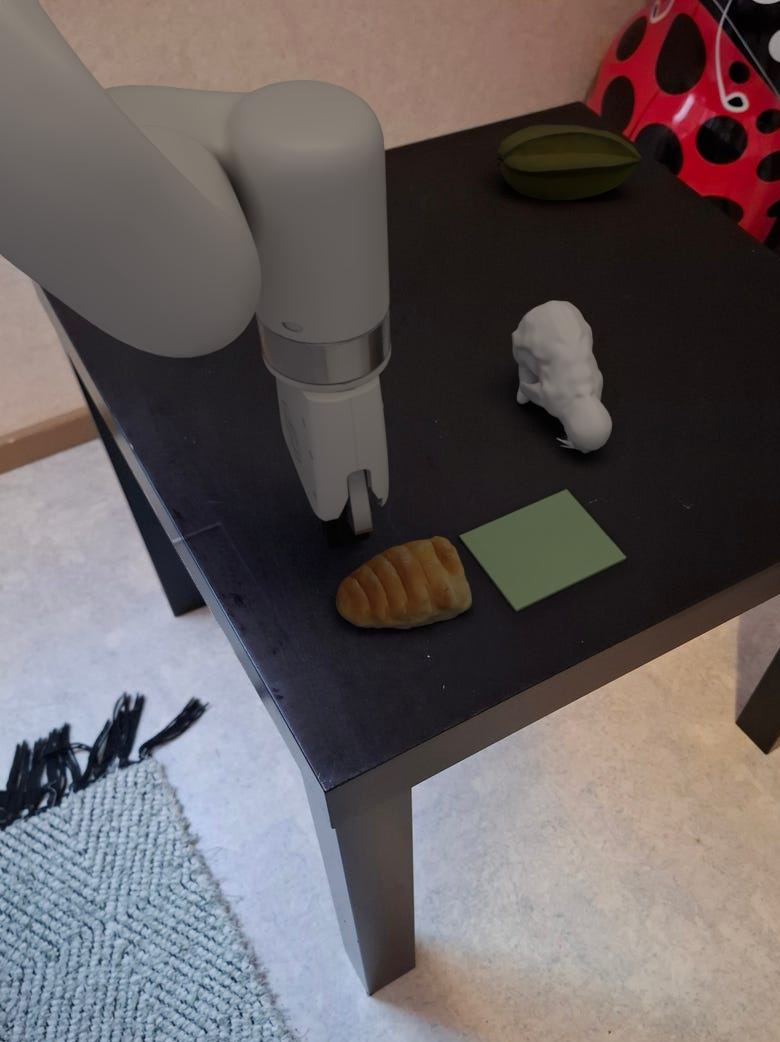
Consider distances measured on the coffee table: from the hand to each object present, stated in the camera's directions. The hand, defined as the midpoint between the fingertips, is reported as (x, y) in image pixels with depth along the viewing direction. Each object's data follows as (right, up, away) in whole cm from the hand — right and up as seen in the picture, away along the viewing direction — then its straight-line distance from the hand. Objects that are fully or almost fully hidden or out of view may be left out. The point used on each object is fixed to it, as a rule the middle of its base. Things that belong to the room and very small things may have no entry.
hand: (346, 536), depth 67 cm
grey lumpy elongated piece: (+17, +11, +10) cm, 23 cm away
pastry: (+5, -5, -1) cm, 7 cm away
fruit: (+19, +40, +29) cm, 53 cm away
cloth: (+15, -1, +2) cm, 15 cm away
